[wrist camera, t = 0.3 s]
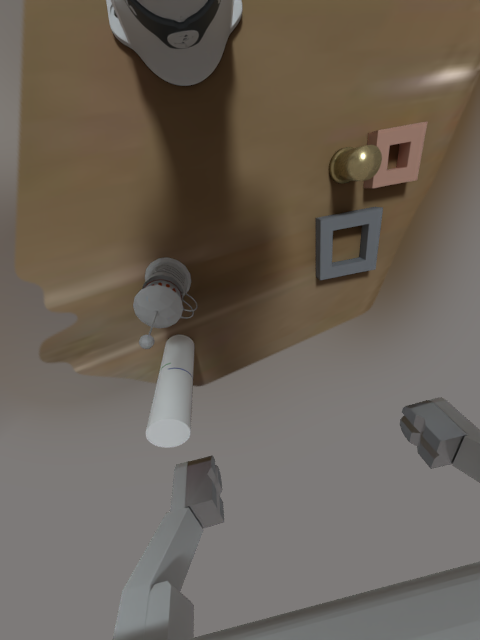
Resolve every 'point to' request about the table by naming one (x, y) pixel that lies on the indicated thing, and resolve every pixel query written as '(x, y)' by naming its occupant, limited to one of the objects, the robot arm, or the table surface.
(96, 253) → the table surface
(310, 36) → the table surface
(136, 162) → the table surface
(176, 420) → the cylindrical container
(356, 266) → the socket block
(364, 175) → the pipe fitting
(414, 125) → the small socket
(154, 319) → the french press
